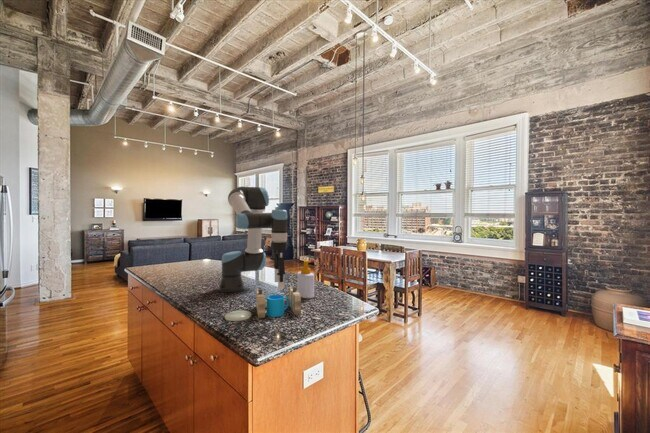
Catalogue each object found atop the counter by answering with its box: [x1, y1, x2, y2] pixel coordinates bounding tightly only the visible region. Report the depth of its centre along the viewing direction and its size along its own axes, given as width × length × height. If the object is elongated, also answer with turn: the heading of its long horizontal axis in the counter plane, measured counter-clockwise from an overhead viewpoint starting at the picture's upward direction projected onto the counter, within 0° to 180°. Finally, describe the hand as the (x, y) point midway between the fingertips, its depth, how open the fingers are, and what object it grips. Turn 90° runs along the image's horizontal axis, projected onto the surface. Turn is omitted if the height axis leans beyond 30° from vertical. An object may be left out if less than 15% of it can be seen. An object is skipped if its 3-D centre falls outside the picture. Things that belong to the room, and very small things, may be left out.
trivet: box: [224, 310, 252, 322], centre depth 137 cm, size 12×12×1 cm
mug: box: [266, 294, 290, 318], centre depth 143 cm, size 12×8×8 cm
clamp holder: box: [255, 286, 302, 319], centre depth 146 cm, size 16×20×11 cm
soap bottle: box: [296, 260, 315, 299], centre depth 172 cm, size 13×8×20 cm, turn 34°
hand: (279, 285), depth 142 cm, fingers open, 13 cm apart
